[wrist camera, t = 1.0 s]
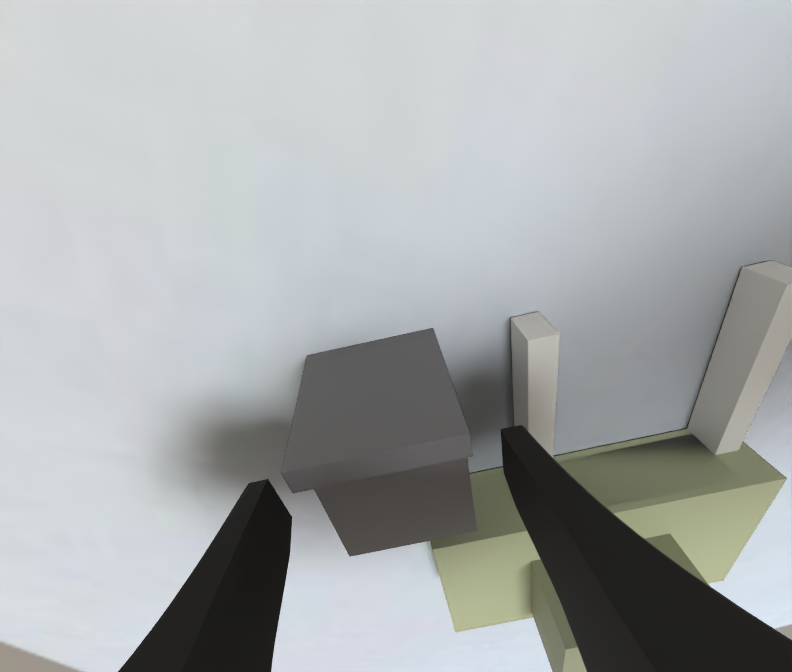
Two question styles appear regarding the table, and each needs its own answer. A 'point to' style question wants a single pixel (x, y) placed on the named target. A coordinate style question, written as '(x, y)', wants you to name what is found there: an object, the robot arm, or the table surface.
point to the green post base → (631, 472)
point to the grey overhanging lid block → (383, 443)
